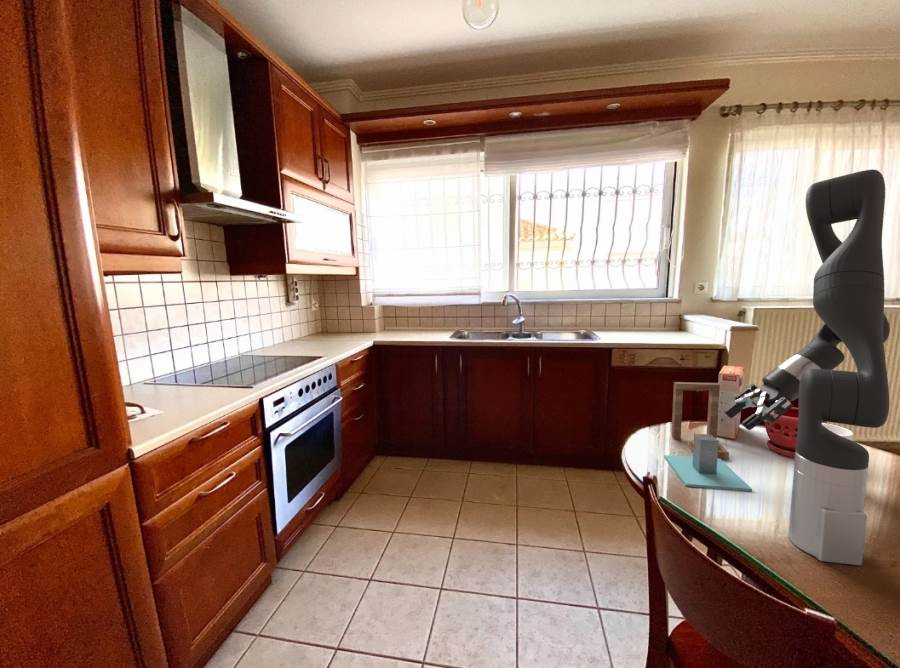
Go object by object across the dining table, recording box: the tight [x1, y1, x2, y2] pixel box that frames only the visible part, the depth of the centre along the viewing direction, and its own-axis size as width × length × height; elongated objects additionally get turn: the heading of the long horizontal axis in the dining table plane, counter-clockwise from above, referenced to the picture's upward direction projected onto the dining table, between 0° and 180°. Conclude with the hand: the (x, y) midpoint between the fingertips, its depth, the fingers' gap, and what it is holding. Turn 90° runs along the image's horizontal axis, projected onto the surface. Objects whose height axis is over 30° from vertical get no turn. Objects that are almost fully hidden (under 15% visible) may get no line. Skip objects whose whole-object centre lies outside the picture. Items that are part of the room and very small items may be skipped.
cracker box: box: [717, 365, 745, 441], centre depth 123 cm, size 14×6×21 cm, turn 139°
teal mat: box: [663, 454, 753, 492], centre depth 98 cm, size 16×14×1 cm
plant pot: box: [764, 406, 828, 459], centre depth 107 cm, size 13×13×12 cm
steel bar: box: [692, 433, 719, 475], centre depth 97 cm, size 4×4×9 cm
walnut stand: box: [671, 381, 730, 460], centre depth 112 cm, size 15×12×18 cm
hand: (735, 421), depth 95 cm, fingers open, 8 cm apart
